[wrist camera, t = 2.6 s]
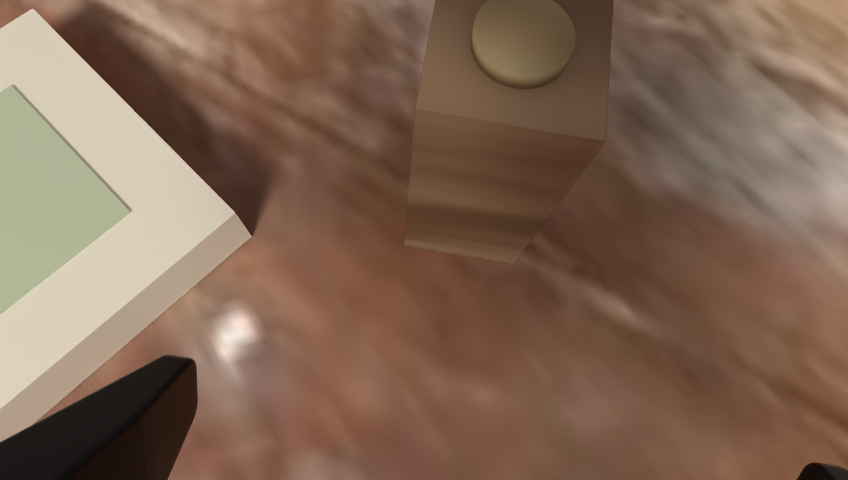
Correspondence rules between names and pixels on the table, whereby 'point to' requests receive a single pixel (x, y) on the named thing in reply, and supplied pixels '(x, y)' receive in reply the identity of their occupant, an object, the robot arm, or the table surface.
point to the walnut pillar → (504, 120)
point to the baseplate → (86, 222)
